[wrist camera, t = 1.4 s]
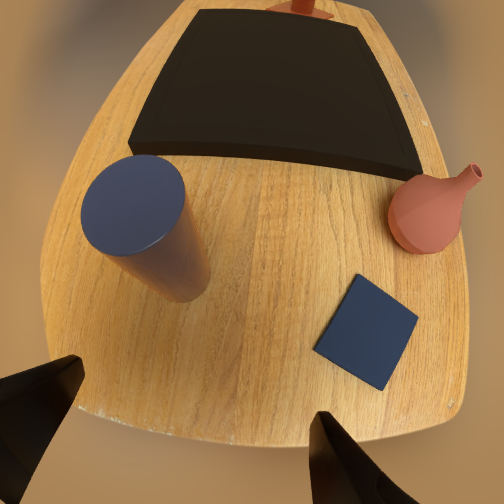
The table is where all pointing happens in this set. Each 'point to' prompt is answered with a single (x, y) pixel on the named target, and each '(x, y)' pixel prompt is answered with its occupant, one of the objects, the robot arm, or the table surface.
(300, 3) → the terracotta candle
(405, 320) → the blue mat
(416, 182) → the terracotta bud vase
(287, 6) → the terracotta tile
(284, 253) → the table surface
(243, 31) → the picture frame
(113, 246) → the blue cylinder
